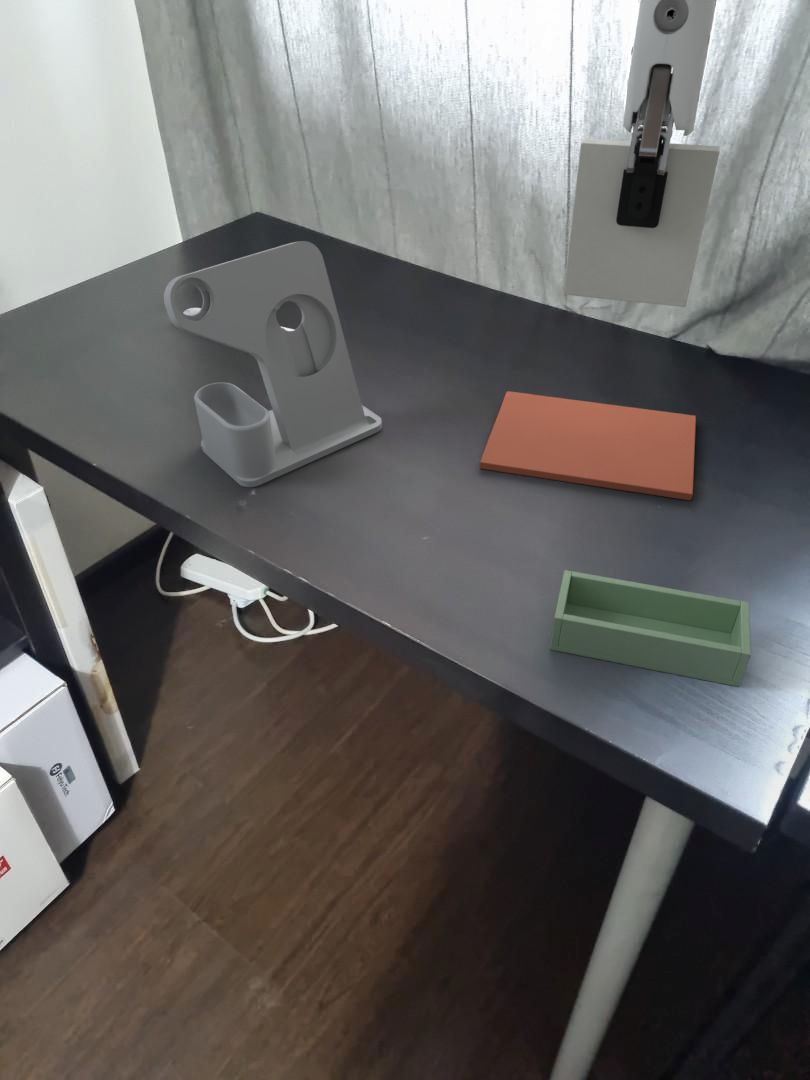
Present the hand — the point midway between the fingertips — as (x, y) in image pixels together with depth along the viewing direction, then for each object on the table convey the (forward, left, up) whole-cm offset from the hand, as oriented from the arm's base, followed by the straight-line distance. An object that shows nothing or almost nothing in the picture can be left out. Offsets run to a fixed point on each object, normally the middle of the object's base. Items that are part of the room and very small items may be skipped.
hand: (637, 219), depth 65 cm
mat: (+1, -4, -24) cm, 24 cm away
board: (0, 0, -7) cm, 7 cm away
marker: (+46, -18, -24) cm, 55 cm away
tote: (-6, +22, -24) cm, 33 cm away
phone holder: (+31, +3, -24) cm, 39 cm away
